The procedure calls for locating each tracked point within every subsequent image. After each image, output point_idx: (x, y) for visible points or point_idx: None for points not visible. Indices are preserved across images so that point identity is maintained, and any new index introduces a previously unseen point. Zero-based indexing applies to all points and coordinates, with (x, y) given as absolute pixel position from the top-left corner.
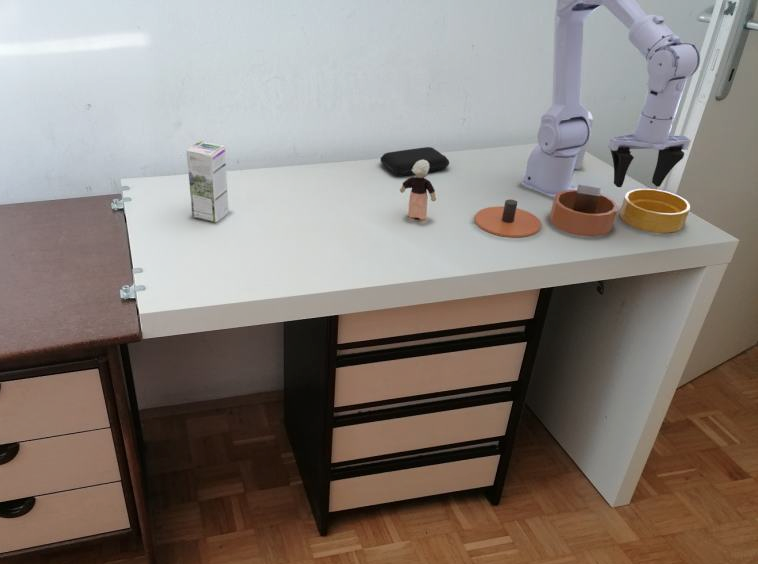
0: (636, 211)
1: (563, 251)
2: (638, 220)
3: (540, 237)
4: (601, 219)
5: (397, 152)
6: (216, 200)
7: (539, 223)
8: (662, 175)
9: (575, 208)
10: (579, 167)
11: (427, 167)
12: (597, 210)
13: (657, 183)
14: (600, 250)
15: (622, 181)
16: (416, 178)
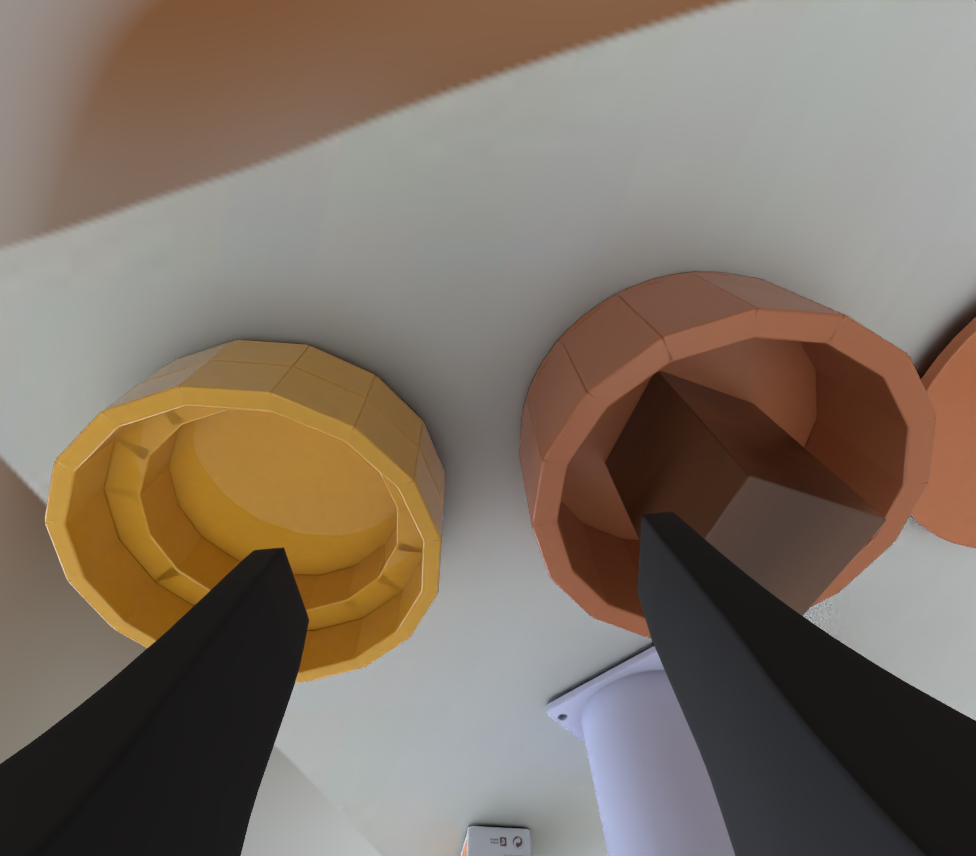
0: (404, 456)
1: (951, 81)
2: (390, 413)
3: (968, 274)
4: (706, 309)
5: None
6: None
7: (936, 389)
8: (214, 632)
9: (801, 450)
10: (474, 834)
11: None
12: (570, 523)
13: (273, 573)
14: (704, 108)
15: (681, 545)
16: None
